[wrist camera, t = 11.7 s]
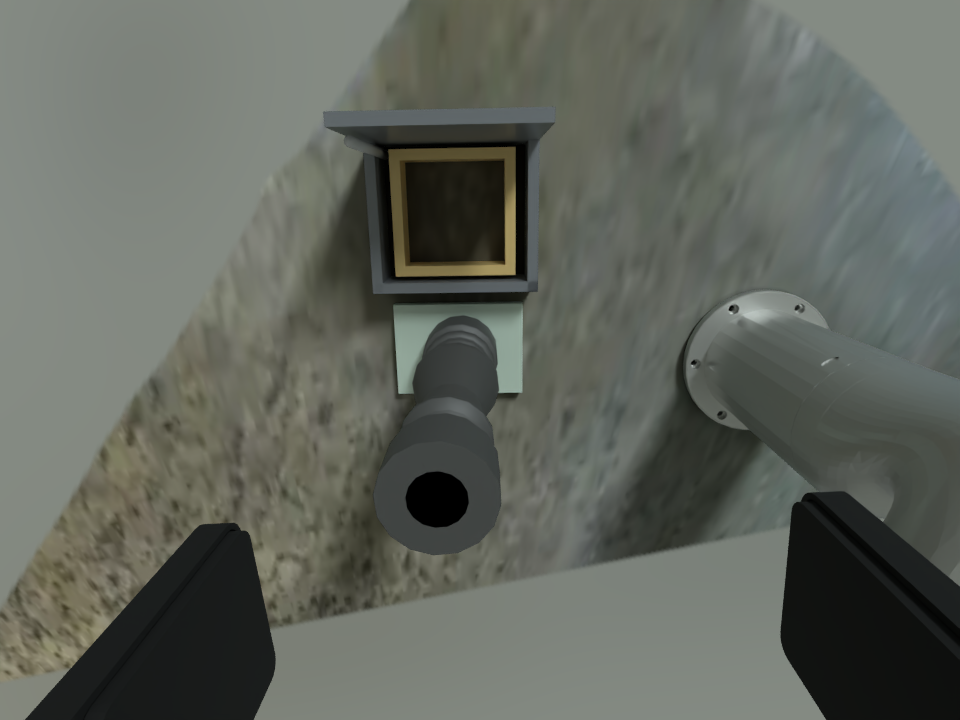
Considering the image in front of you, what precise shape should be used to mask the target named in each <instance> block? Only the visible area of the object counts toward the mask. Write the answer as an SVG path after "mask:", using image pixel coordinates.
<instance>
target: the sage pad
mask: <svg viewBox="0 0 960 720" xmlns="http://www.w3.org/2000/svg"><path fill="white" fill-rule="evenodd" d="M393 311H394V327H395V343H396V360H397V376H398V393H399V394H414V391H413V385H412V382H413V378H414V374H415V370H416V367H417V365H418V363H419V362H420V361H421V360H422V355H423V351H424V348H425V344H426V341H427V339H428V337H429V334H430V333H431V332H432V330H433V329H434V328H435V327H436V325H437V324H438V323H440V322H442V321H443V320H445V319H447V318H449V317H453V316H462V315H465V316H469V317H472V318H476V319H478V320H480V321H481V322H482V323H483V324H485V325H486V326H487V327H489V329H490V331H491V332H492V334H493V336H494V338H495V339H496V348H497V359H498V365H497V368H496V370H497V376H498V384H499V392H498V393H522V330H523V303H522V301H510V302H439V303H395V304H394V305H393Z"/></svg>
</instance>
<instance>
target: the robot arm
mask: <svg viewBox="0 0 960 720" xmlns="http://www.w3.org/2000/svg"><path fill="white" fill-rule="evenodd" d="M731 305H732V309H731V310H729V307H730V306H731ZM796 305H797V307H796V309H795V306H796ZM693 360H695V362H694V363H693V364H691V362H692V361H693ZM683 375H684V380H685V384H686V388H687V390H688V392H689V394H690V396H691V398H692V400H693V401H694V402H695V404H696V405H697V406H698V407H699V408H700V409H701V410H702V411H703V412H704V413H705V414H706V415H707V416H708V417H710V418H711V419H713V420H714V421H716V422H717V423H719V424H722V425H725V426H727V427H730V428H735V429H741V430H750V431H751V432H753V433H754V434H755V435H756V436H757V437H758V438H759V439H760V440H761V441H763V442H764V443H765V444H766V445H767V446H768V447H769V448H770V449H772V450H773V451H774V452H775V453H776V454H777V455H778V456H779V457H780V458H782V459H783V460H784V461H785V462H786V463H787V464H788V465H789V466H790V467H792V468H793V469H794V470H795V471H796V472H797V473H798V474H799V475H801V476H802V477H803V478H804V479H805V480H806V481H807V482H808V483H809V484H811V485H812V486H813V487H814V488H815V489H816V490H818V491H819V492H813V493H806V494H805V495H804V496H803V498H802V500H801V502H796V503H795V504H794V505H793V508H792V513H791V524H790V536H789V546H788V557H787V567H786V579H785V590H784V600H783V611H782V621H781V643H782V647H783V650H784V653H785V655H786V657H787V659H788V660H789V662H790V664H791V665H792V667H793V668H794V670H795V671H796V673H797V675H798V676H799V678H800V679H801V681H802V682H803V684H804V685H805V687H806V689H807V690H808V692H809V693H810V695H811V696H812V698H813V699H814V701H815V703H816V704H817V706H818V707H819V709H820V711H821V712H822V714H823V715H824V717H825V718H826V720H960V379H957V378H954V377H951V376H948V375H945V374H942V373H939V372H937V371H934V370H931V369H929V368H926V367H923V366H921V365H918V364H916V363H913V362H911V361H908V360H905V359H903V358H900V357H898V356H895V355H892V354H890V353H887V352H885V351H882V350H880V349H877V348H875V347H872V346H870V345H867V344H865V343H862V342H859V341H857V340H854V339H852V338H849V337H847V336H844V335H842V334H839V333H837V332H834V331H831V330H830V329H829V327H828V325H827V323H826V321H825V319H824V318H823V317H822V315H821V314H820V313H819V311H818V310H817V309H816V308H814V307H813V306H812V305H811V304H810V303H809V302H807V301H805V300H803V299H801V298H799V297H798V296H795V295H792V294H789V293H786V292H782V291H777V290H753V291H748V292H743V293H740V294H738V295H735V296H733V297H730V298H728V299H726V300H725V301H723V302H721V303H720V304H718V305H716V306H715V307H714V308H713V309H712V310H711V311H709V312H708V313H707V314H706V315H705V316H704V317H703V318H702V320H701V321H700V322H699V323H698V324H697V326H696V327H695V329H694V331H693V332H692V334H691V336H690V338H689V340H688V343H687V346H686V349H685V353H684V360H683ZM719 411H720V413H718V412H719ZM878 518H884V519H885V520H884V521H883V522H882V521H881V520H880V519H878ZM274 670H275V651H274V646H273V642H272V637H271V632H270V628H269V623H268V618H267V613H266V609H265V604H264V599H263V595H262V590H261V585H260V581H259V576H258V571H257V566H256V562H255V557H254V552H253V548H252V543H251V539H250V535H249V534H248V532H247V531H241V530H240V528H239V526H238V525H237V524H235V523H220V524H203V525H200V526H199V527H197V528H196V529H195V530H194V531H193V532H192V534H191V535H190V536H189V537H188V538H187V539H186V540H185V541H184V543H183V544H182V545H181V546H180V547H179V548H178V549H177V550H176V551H175V553H174V554H173V555H172V556H171V557H170V558H169V559H168V560H167V562H166V563H165V564H164V565H163V566H162V567H161V568H160V569H159V570H158V572H157V573H156V574H155V575H154V576H153V577H152V578H151V579H150V581H149V582H148V583H147V584H146V585H145V586H144V587H143V588H142V590H141V591H140V592H139V593H138V594H137V595H136V596H135V597H134V598H133V600H132V601H131V602H130V603H129V604H128V605H127V606H126V607H125V609H124V610H123V611H122V612H121V613H120V614H119V615H118V616H117V617H116V619H115V620H114V621H113V622H112V623H111V624H110V625H109V626H108V628H107V629H106V630H105V631H104V632H103V633H102V634H101V635H100V636H99V638H98V639H97V640H96V641H95V642H94V643H93V644H92V645H91V647H90V648H89V649H88V650H87V651H86V652H85V653H84V654H83V655H82V657H81V658H80V659H79V660H78V661H77V662H76V663H75V664H74V666H73V667H72V668H71V669H70V670H69V671H68V672H67V673H66V674H65V676H64V677H63V678H62V679H61V680H60V681H59V683H57V685H56V686H55V687H54V688H53V689H52V690H51V691H50V692H49V693H48V695H47V696H46V697H45V698H44V699H43V700H42V701H41V702H40V704H39V705H38V706H37V707H36V708H35V709H34V710H33V711H32V712H31V714H30V715H29V716H28V717H27V718H26V719H25V720H254V718H255V715H256V713H257V711H258V709H259V707H260V704H261V702H262V700H263V698H264V696H265V693H266V691H267V689H268V687H269V685H270V683H271V680H272V678H273V675H274Z"/></svg>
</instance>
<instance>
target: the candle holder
mask: <svg viewBox="0 0 960 720" xmlns="http://www.w3.org/2000/svg"><path fill="white" fill-rule="evenodd" d="M497 365H498V359H497V348H496V339H495V338H494V336H493V334H492V332H491V331H490V329H489V327H487V326H486V325H485V324H483V323H482V322H481V321H480V320H478V319H476V318H472V317H469V316H465V315H462V316H453V317H449V318H447V319H445V320H443V321H442V322H440V323H438V324H437V325H436V327H435V328H434V329H433V330H432V332H431V333H430V334H429V337H428V339H427V341H426V344H425V348H424V351H423V355H422V360H421V361H420V362H419V363H418V365H417V367H416V370H415V374H414V378H413V382H412V385H413V391H414V398H415V401H416V404H417V405H415V407H414V408H413V409H412V410H411V412H410V413H409V414H408V415H407V416H406V418H405V419H404V421H403V424H402V428H401V430H400V431H399V433H398V434H397V435H396V436H395V438H394V439H393V440H392V441H391V443H390V445H389V447H388V450H387V453H386V455H385V458H384V460H383V463H382V465H381V468H380V471H379V473H378V477H377V481H376V485H375V489H374V492H373V498H374V504H375V509H376V514H377V518H378V519H379V521H380V522H381V524H382V525H383V526H384V528H385V529H386V531H387V532H388V534H389V535H390V536H391V537H392V538H394V539H395V540H397V541H398V542H400V543H401V544H403V545H404V546H406V547H407V548H409V549H411V550H415V551H419V552H423V553H427V554H431V555H441V554H452V553H459V552H461V551H463V550H465V549H467V548H469V547H471V546H473V545H475V544H477V543H479V542H480V541H481V540H482V539H483V538H484V537H485V536H486V534H487V533H488V532H489V531H490V530H491V529H492V528H493V527H494V525H495V522H496V519H497V516H498V513H499V510H500V507H501V489H500V470H499V461H498V453H497V450H496V448H495V447H494V438H493V430H492V425H491V424H490V422H489V420H488V418H487V417H486V416H487V414H488V413H489V412H490V410H491V409H492V408H493V406H494V404H495V401H496V398H497V395H498V392H499V384H498V376H497V370H496V368H497Z"/></svg>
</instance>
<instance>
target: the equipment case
mask: <svg viewBox="0 0 960 720" xmlns="http://www.w3.org/2000/svg"><path fill="white" fill-rule="evenodd" d="M323 115H324V126H325V127H326V128H328V129H331V130H333V131H335V132H338V133H340V134H343V135H345V136H346V137H345V138H344V144H345V145H346V146H347V147H349V148H352V149H355V150H358V151H361V152H363V156H364V170H365V184H366V198H367V212H368V226H369V240H370V254H371V269H372V283H373V294H400V293H470V292H538V223H539V141H540V138H541V137H542V136H543V135H544V134H545V133H546V132H547V131H548V130H549V129H550V127H551V126H552V125H553V124H554V123H555V107H526V108H476V109H427V110H378V111H328V112H323ZM521 144H525V258H524V275H515V263H516V147H481V148H429V149H388V151H386V150H384V149H383V147H416V146H468V145H521ZM388 158H389V170H390V187H391V204H392V221H393V238H394V255H395V272H396V277H391V266H390V250H389V234H388V217H387V201H386V185H385V168H384V160H386V159H388ZM460 161H504V261H454V262H410V249H409V229H408V210H407V190H406V171H405V163H407V162H460Z"/></svg>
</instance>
